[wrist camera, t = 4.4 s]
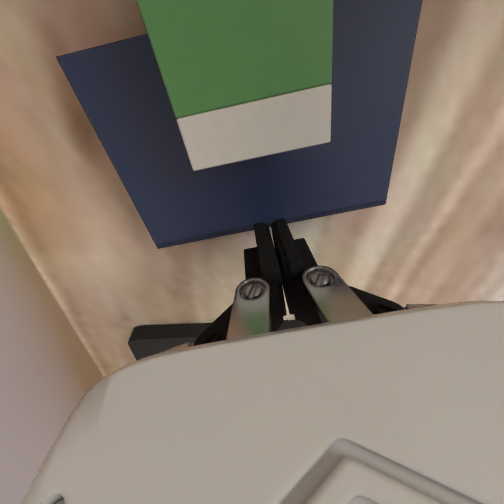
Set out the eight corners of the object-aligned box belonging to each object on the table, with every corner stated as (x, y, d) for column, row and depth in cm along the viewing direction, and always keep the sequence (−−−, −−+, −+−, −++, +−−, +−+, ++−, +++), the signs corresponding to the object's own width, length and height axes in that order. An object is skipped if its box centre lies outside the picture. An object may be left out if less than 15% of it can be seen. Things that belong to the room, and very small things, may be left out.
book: (90, 64, 11) (55, 56, 9) (388, -9, 10) (429, -38, 8) (167, 229, 16) (157, 249, 14) (364, 189, 15) (385, 204, 13)
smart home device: (316, 373, 27) (146, 382, 25) (312, 359, 28) (151, 367, 27) (332, 332, 22) (125, 340, 21) (326, 318, 23) (132, 325, 22)
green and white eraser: (130, -86, 7) (73, -187, 4) (301, -133, 7) (340, -271, 4) (202, 155, 11) (193, 171, 9) (309, 132, 11) (331, 142, 8)
